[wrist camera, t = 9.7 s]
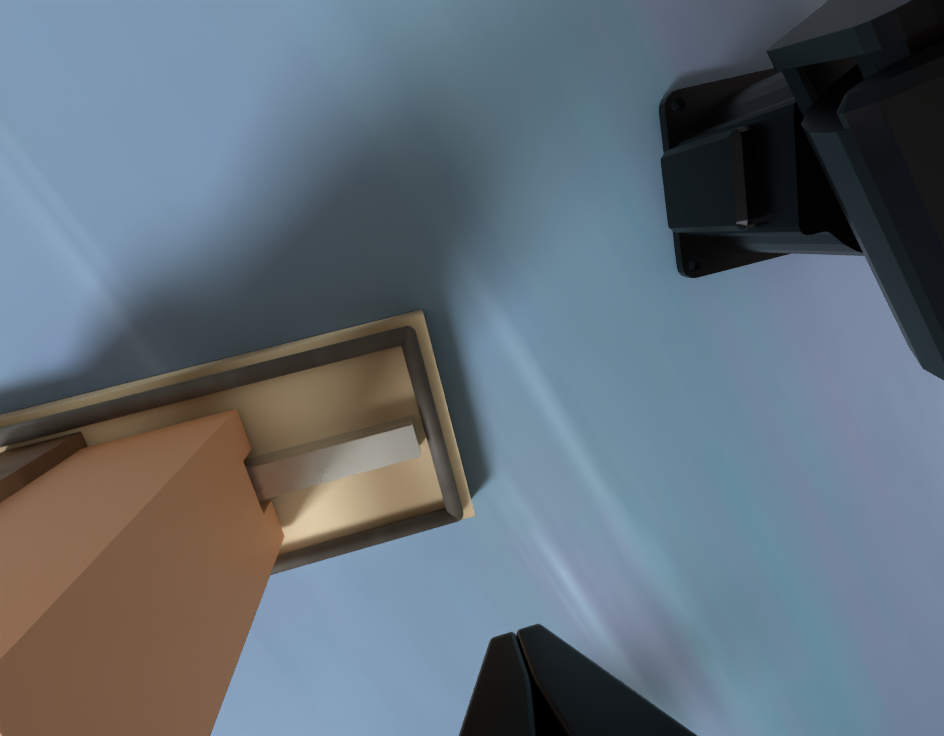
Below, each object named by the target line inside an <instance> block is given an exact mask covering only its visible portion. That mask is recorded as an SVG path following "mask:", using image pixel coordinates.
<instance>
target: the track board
mask: <svg viewBox="0 0 944 736" xmlns="http://www.w3.org/2000/svg"><path fill="white" fill-rule="evenodd" d="M233 409H237V412H238V414H239V417H240V420H241V422H242V425H243V428H244V430H245V433H246V435H247V438H248V441H249V443H250V446H251V451H250V452H249V454H248V455H247V457H246V458H245V459H248V458H252V457H256V456H260V455H263V454H267V453H271V452H275V451H278V450H282V449H286V448H290V447H293V446H297V445H301V444H305V443H308V442H312V441H316V440H320V439H323V438H327V437H331V436H335V435H338V434H342V433H346V432H350V431H354V430H357V429H361V428H365V427H369V426H372V425H376V424H380V423H384V422H387V421H391V420H395V419H399V418H402V417H406V416H410V415H412V418H413V421H414V425H415V429H416V432H417V436H418V439H419V443H420V448H421V457H417V458H414V459H410V460H406V461H403V462H399V463H395V464H392V465H388V466H384V467H381V468H377V469H373V470H370V471H366V472H362V473H359V474H355V475H352V476H348V477H344V478H341V479H337V480H333V481H330V482H326V483H322V484H319V485H315V486H311V487H308V488H304V489H300V490H297V491H293V492H289V493H286V494H282V495H278V496H275V497H271V498H267V499H264V500H260V501H259V503H262V502H266V501H269V500H271V502H272V504H273V507H274V509H275V512H276V515H277V517H278V520H279V523H280V525H281V528H282V531H283V533H284V536H285V537H284V539H283V542H282V545H281V547H280V550H279V553H278V555H277V558H276V561H275V563H274V566H273V569H272V571H271V574H270V575H272V574H276V573H279V572H283V571H286V570H290V569H293V568H297V567H300V566H304V565H307V564H311V563H314V562H318V561H321V560H325V559H328V558H332V557H335V556H339V555H342V554H346V553H349V552H353V551H356V550H360V549H363V548H367V547H370V546H374V545H377V544H381V543H384V542H388V541H391V540H395V539H398V538H402V537H405V536H409V535H412V534H416V533H419V532H423V531H426V530H430V529H433V528H437V527H440V526H444V525H447V524H451V523H454V522H458V521H460V520H462V519H465V518H469V517H472V516H475V513H474V509H473V505H472V501H471V497H470V493H469V489H468V486H467V482H466V478H465V474H464V470H463V466H462V462H461V458H460V454H459V450H458V447H457V443H456V439H455V435H454V431H453V427H452V423H451V419H450V415H449V411H448V408H447V404H446V400H445V396H444V392H443V388H442V384H441V380H440V376H439V372H438V369H437V365H436V361H435V357H434V353H433V349H432V345H431V341H430V337H429V333H428V329H427V326H426V322H425V318H424V314H423V311H422V310H418V311H414V312H410V313H406V314H402V315H398V316H394V317H390V318H386V319H382V320H378V321H374V322H370V323H366V324H362V325H358V326H354V327H350V328H346V329H342V330H338V331H334V332H330V333H326V334H322V335H318V336H314V337H310V338H306V339H302V340H298V341H294V342H290V343H286V344H282V345H278V346H274V347H270V348H266V349H262V350H258V351H254V352H250V353H246V354H242V355H237V356H233V357H229V358H225V359H221V360H217V361H213V362H209V363H205V364H201V365H197V366H193V367H189V368H185V369H181V370H177V371H173V372H169V373H165V374H161V375H157V376H153V377H149V378H145V379H141V380H137V381H133V382H129V383H125V384H121V385H117V386H113V387H109V388H105V389H101V390H97V391H93V392H89V393H85V394H81V395H77V396H73V397H69V398H65V399H61V400H57V401H53V402H49V403H45V404H41V405H37V406H33V407H29V408H25V409H21V410H17V411H13V412H9V413H5V414H1V415H0V453H1V452H3V451H5V450H9V449H13V448H17V447H21V446H25V445H29V444H33V443H37V442H41V441H45V440H49V439H52V438H56V437H60V436H64V435H68V434H72V433H76V432H80V431H81V433H82V435H83V437H84V439H85V441H86V443H87V445H88V447H90V446H94V445H98V444H101V443H105V442H109V441H113V440H117V439H121V438H125V437H129V436H133V435H136V434H140V433H144V432H148V431H152V430H156V429H160V428H164V427H167V426H171V425H175V424H179V423H183V422H187V421H191V420H195V419H198V418H202V417H206V416H210V415H214V414H218V413H222V412H226V411H230V410H233ZM245 459H244V460H245Z"/></svg>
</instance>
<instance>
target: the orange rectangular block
mask: <svg viewBox="0 0 944 736" xmlns="http://www.w3.org/2000/svg"><path fill="white" fill-rule="evenodd" d="M250 451H251V446H250V443H249V441H248V438H247V435H246V433H245V430H244V428H243V425H242V422H241V420H240V417H239V414H238V412H237V409H233V410H230V411H226V412H222V413H218V414H214V415H210V416H206V417H202V418H198V419H195V420H191V421H187V422H183V423H179V424H175V425H171V426H167V427H164V428H160V429H156V430H152V431H148V432H144V433H140V434H136V435H133V436H129V437H125V438H121V439H117V440H113V441H109V442H105V443H101V444H98V445H94V446H90V447H86V448H82V449H81V450H79V451H78V452H76V453H75V454H73V455H71V456H70V457H68V458H67V459H65V460H64V461H62V462H61V463H59V464H58V465H56V466H55V467H53V468H52V469H50V470H49V471H47V472H46V473H44V474H43V475H41V476H40V477H38V478H37V479H35V480H34V481H32V482H31V483H29V484H28V485H26V486H25V487H23V488H22V489H20V490H19V491H17V492H16V493H14V494H13V495H11V496H10V497H8V498H7V499H5V500H4V501H2V502H1V503H0V736H210V735H211V732H212V729H213V726H214V724H215V721H216V718H217V716H218V713H219V710H220V708H221V705H222V702H223V700H224V697H225V694H226V692H227V689H228V686H229V684H230V681H231V678H232V676H233V673H234V670H235V668H236V665H237V662H238V660H239V657H240V654H241V652H242V649H243V646H244V644H245V641H246V638H247V636H248V633H249V630H250V628H251V625H252V622H253V620H254V617H255V614H256V612H257V609H258V606H259V604H260V601H261V598H262V596H263V593H264V590H265V587H266V585H267V582H268V579H269V577H270V574H271V571H272V569H273V566H274V563H275V561H276V558H277V555H278V553H279V550H280V547H281V545H282V542H283V539H284V537H285V536H284V533H283V531H282V528H281V525H280V523H279V520H278V517H277V515H276V512H275V509H274V507H273V504H272V502H271V500H269V501H266V502H262V503H259V501H258V498H257V496H256V493H255V491H254V488H253V485H252V483H251V480H250V478H249V475H248V472H247V470H246V467H245V465H244V462H243V461H244V459H245V458H246V457H247V455H248V454H249V452H250Z"/></svg>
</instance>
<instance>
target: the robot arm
mask: <svg viewBox="0 0 944 736" xmlns="http://www.w3.org/2000/svg"><path fill="white" fill-rule="evenodd" d="M767 53H768V55H769V57H770V59H771V61H772V64H773V66H774V68H773V69H769V70H764V71H760V72H755V73H751V74H746V75H742V76H737V77H733V78H728V79H724V80H719V81H715V82H710V83H706V84H701V85H697V86H692V87H688V88H683V89H679V90H676V91H673V92H671V93H669V94H668V95H666V96H665V97H664V98H663V99H662V100H661V103H660V105H659V116H660V124H661V133H662V142H663V151H664V154H663V156H662V158H661V168H662V176H663V185H664V193H665V202H666V211H667V219H668V227H669V228H670V229H671V230H672V231H673V238H674V247H675V255H676V264H677V269H678V272H679V273H680V274H681V275H682V276H684V277H688V278H697V277H701V276H705V275H709V274H713V273H717V272H721V271H725V270H729V269H732V268H736V267H740V266H744V265H748V264H752V263H756V262H760V261H764V260H768V259H772V258H776V257H779V256H783V255H787V254H791V253H796V254H826V255H855V256H865V258H866V260H867V262H868V264H869V266H870V268H871V270H872V272H873V274H874V276H875V278H876V280H877V282H878V284H879V286H880V289H881V291H882V293H883V295H884V297H885V299H886V301H887V303H888V305H889V307H890V309H891V311H892V313H893V315H894V317H895V319H896V322H897V324H898V326H899V328H900V330H901V332H902V334H903V336H904V338H905V340H906V342H907V344H908V346H909V348H910V350H911V351H912V353H913V354H914V356H915V357H916V359H917V360H918V362H919V363H920V365H921V366H922V368H923V369H925V370H926V371H928V372H930V373H932V374H933V375H935V376H937V377H939V378H941V379H942V380H944V0H829V1H828V2H826V3H825V4H824V5H823V6H821V7H820V8H819V9H818V10H817V11H815V12H814V13H813V14H812V15H810V16H809V17H808V18H807V19H805V20H804V21H803V22H802V23H800V24H799V25H798V26H797V27H795V28H794V29H793V30H792V31H790V32H789V33H788V34H787V35H785V36H784V37H783V38H782V39H780V40H779V41H778V42H777V43H775V44H774V45H773V46H772V47H770V48H769V49H768V50H767ZM673 101H676V102H677V103H678V105H679V112H678V113H677V114H676V113H674V112H673V111H672V108H671V106H672V102H673ZM691 259H694V260H695V267H694V268H693V269H692V270H690V269H689V262H690V260H691ZM516 635H517V636H516ZM459 736H697V735H696V734H694V733H693V732H691V731H690V730H689V729H687V728H686V727H684V726H683V725H682V724H680V723H679V722H677V721H676V720H675V719H673V718H672V717H670V716H669V715H667V714H666V713H665V712H663V711H662V710H660V709H659V708H658V707H656V706H655V705H653V704H652V703H651V702H649V701H648V700H646V699H645V698H644V697H642V696H641V695H639V694H638V693H637V692H635V691H634V690H632V689H631V688H629V687H628V686H627V685H625V684H624V683H622V682H621V681H620V680H618V679H617V678H615V677H614V676H613V675H611V674H610V673H608V672H607V671H606V670H604V669H603V668H601V667H600V666H598V665H597V664H596V663H594V662H593V661H591V660H590V659H589V658H587V657H586V656H584V655H583V654H582V653H580V652H579V651H577V650H576V649H575V648H573V647H572V646H570V645H569V644H568V643H566V642H565V641H563V640H562V639H560V638H559V637H558V636H556V635H555V634H553V633H552V632H551V631H549V630H548V629H546V628H545V627H544V626H542V625H540V624H535V625H532V626H529V627H526V628H522V629H519V630H518V631H517V634H515V633H513V632H509V633H506V634H503V635H500V636H496V637H493V638H492V639H491V640H490V642H489V645H488V648H487V651H486V654H485V657H484V660H483V663H482V666H481V669H480V672H479V675H478V678H477V682H476V685H475V688H474V691H473V694H472V697H471V700H470V703H469V706H468V709H467V712H466V715H465V718H464V721H463V724H462V727H461V730H460V733H459Z"/></svg>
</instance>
